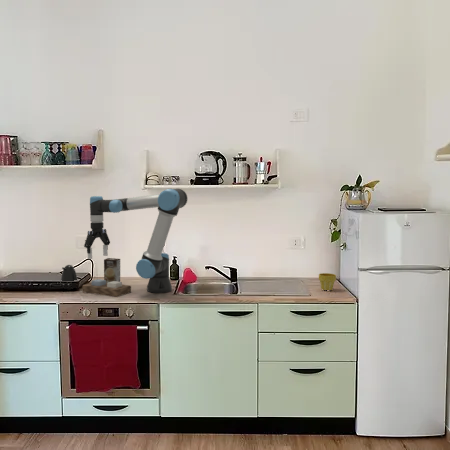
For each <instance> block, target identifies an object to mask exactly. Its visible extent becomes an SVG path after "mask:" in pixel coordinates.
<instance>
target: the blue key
mask: <svg viewBox="0 0 450 450" xmlns="http://www.w3.org/2000/svg"><path fill="white" fill-rule="evenodd" d="M91 283H92V285H95V286H102V285H105V284H106V280H104V279H101V278H100V279H99V278H97V279H94V280H91Z"/></svg>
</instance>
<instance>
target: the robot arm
mask: <svg viewBox="0 0 450 450" xmlns="http://www.w3.org/2000/svg"><path fill="white" fill-rule="evenodd" d="M103 198H104V197H103V196H100V195H98V196H97V195H96V196H95V195H94V196H90V198H89V212H90V218H89V219H90V229H91V230H88V231H87V236H86V238H85V242H84V245H83V247H84V248H86V253H87V259H88V260H92V259H93V247H92V246H93V244H94V242H95V240H96V239H98V238H99V239H100V241H101V242H102V244H103V245H102V253H103V256H105V257H106V256H107V257H108V250H109V249H108V248H109V247H108V246H110V244H111V241H110V238H109V235H108V232H107V229H106V228H104V213H113V214H115V213H117V214H118V213H120V212H127V211H135V210H144V209H153V208H154V209H155V208H157V210H158V215H157V218H156V221H155V224H154V228H153V231H152V234H151V237H150V240H149V243H148V246H147V249H146V251H143V253H142V256H141V258H140V259H139V260H138V261H137V263H136V266H135V269H136V272H137V274H138V276H139V277H140V278H141V279H146V280H147V279H148V282H147V286H146V292H149V293H151V294H162V293H169V292H172V291H173V286H172V283H171V280H170V257H169V256H170V255H169V254H168V253H165V252H164V247H165V245H166V242H167V238H168V235H169V232H170V229H171V227H172V223H173V219H174V218H175V217H177V215H178V214H179V211H180V209H182V208H184V207H185V206H186V205H187V203H188V195H187V193H186V191H185V190H184V189H182V188H167V189H164V190H162V191H161V192H160V193H159V194H151V195H143V196H136V197H134V196H133V197H127V198H126V197H125V198H118V199H117V198H116V199H103Z"/></svg>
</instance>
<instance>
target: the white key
mask: <svg viewBox="0 0 450 450" xmlns="http://www.w3.org/2000/svg"><path fill="white" fill-rule="evenodd" d="M122 285H123V283H122V281H120V282H117V281H112V282H109V283H107V287H110V288H118V287H121V286H122Z"/></svg>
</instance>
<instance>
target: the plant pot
mask: <svg viewBox="0 0 450 450" xmlns="http://www.w3.org/2000/svg"><path fill="white" fill-rule="evenodd" d="M336 279H337V275H336V274H335V273H328V272H327V273H326V272H323V273H321V272H320V273H319V274H318V281H319V283H320V289H323V290H332V289H333V290H334V286H335V285H334V284H335V282H336ZM323 290H322V291H323ZM333 290H332V291H333Z"/></svg>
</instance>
